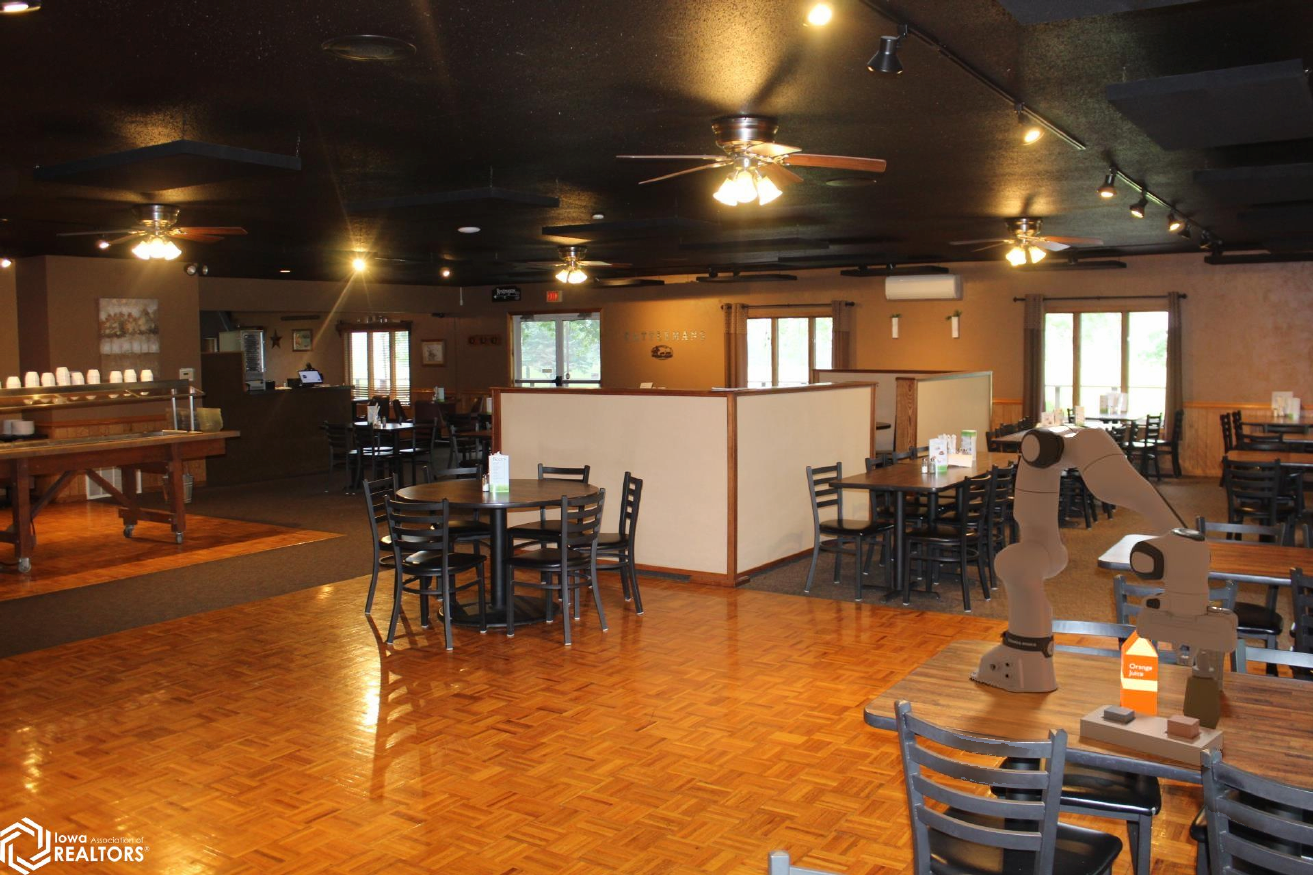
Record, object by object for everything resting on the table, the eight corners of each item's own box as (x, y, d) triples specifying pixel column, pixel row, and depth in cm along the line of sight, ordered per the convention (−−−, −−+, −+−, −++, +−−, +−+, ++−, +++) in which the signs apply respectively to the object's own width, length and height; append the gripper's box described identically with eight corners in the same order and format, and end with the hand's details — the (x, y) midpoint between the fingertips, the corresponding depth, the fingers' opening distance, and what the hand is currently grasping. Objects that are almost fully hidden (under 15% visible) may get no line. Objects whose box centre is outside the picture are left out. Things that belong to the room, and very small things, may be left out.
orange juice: (1122, 712, 256) (1124, 632, 255) (1119, 701, 265) (1121, 623, 263) (1157, 715, 254) (1159, 635, 252) (1153, 704, 262) (1155, 626, 261)
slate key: (1103, 726, 241) (1103, 709, 241) (1112, 721, 244) (1112, 704, 244) (1125, 732, 237) (1125, 715, 237) (1134, 726, 241) (1134, 709, 241)
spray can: (1216, 684, 277) (1218, 610, 276) (1227, 692, 271) (1230, 617, 269) (1190, 684, 278) (1192, 610, 277) (1200, 692, 271) (1203, 616, 270)
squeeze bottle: (1174, 722, 249) (1177, 648, 247) (1207, 721, 249) (1209, 647, 248) (1195, 734, 241) (1197, 658, 239) (1228, 733, 241) (1230, 657, 240)
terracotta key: (1166, 737, 231) (1167, 719, 231) (1175, 731, 234) (1175, 714, 234) (1190, 742, 227) (1191, 724, 227) (1198, 736, 231) (1199, 719, 231)
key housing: (1079, 735, 240) (1080, 718, 240) (1105, 720, 250) (1105, 704, 250) (1200, 766, 222) (1200, 747, 222) (1222, 748, 232) (1222, 731, 231)
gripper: (1243, 608, 223) (1241, 671, 224) (1144, 594, 238) (1143, 653, 239) (1233, 613, 219) (1231, 677, 220) (1133, 598, 234) (1132, 659, 235)
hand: (1185, 664), depth 230 cm, fingers closed
